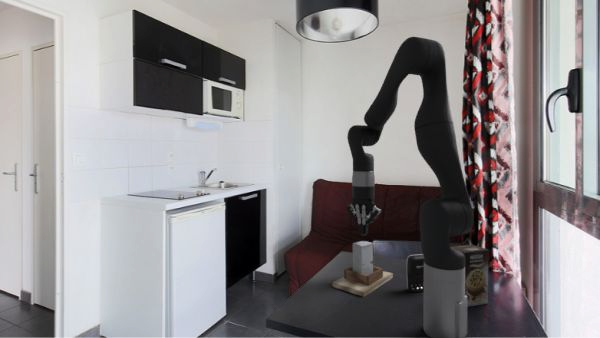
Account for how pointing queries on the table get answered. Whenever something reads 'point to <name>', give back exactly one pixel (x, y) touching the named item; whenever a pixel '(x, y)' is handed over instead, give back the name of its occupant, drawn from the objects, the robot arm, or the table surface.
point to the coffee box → (475, 274)
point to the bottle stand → (362, 281)
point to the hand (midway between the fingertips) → (363, 234)
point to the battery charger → (415, 273)
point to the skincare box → (363, 257)
